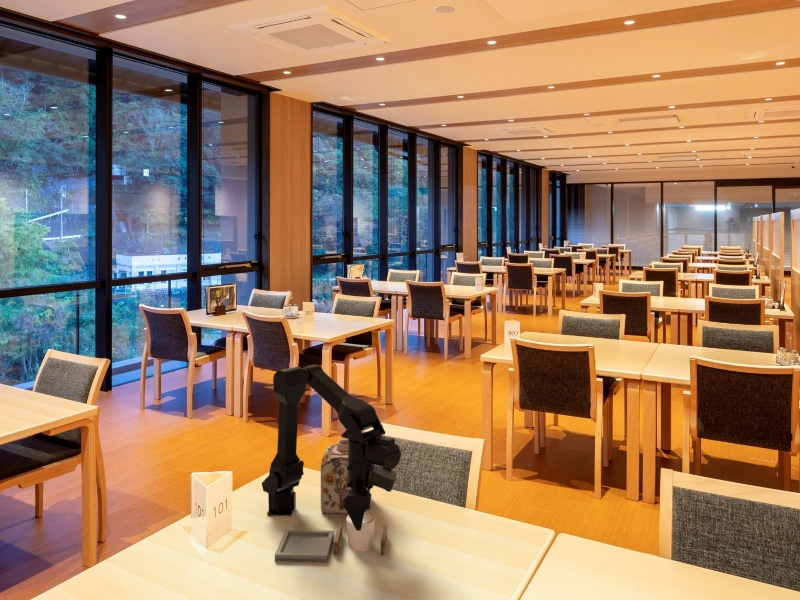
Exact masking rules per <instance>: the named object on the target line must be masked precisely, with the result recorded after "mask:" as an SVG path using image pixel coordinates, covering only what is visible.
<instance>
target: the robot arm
mask: <svg viewBox="0 0 800 600" xmlns="http://www.w3.org/2000/svg"><path fill="white" fill-rule="evenodd" d="M272 378H273V379H272V383H273V393H274V395H275V396H276V398H277V400H278V404H279V405H278V428H277V449H276V455H275V456H274V458H273V460H272V461H271V462H270V465H269V473H268V475H267V477H266V478H265V479H264V480H263V481H262V482H261V487H262V491H263V492H265V493H267V494H268V497H267V498H268V510H267V512H266V515H267V516H292V514H293V513H294V511H295V510H296V508H297V492H296V491H294V490H295V487H298V486H299V485H300V481H301V480H302V478H303V476H304V474H305V473H304V465H305V463H304V461H303V460H301V459H300V457H299V456H298V454H297V444H298V443H297V442H298V424H299V408H300V407H299V405H300V401H301V399H302V397H303V395H305V392H306V387H307V385H308V386H309V387H310V388H311V389H312V390H314V392H316V394H318V395H319V396H320V397H321V398H322V399H323V400H324V401H325V402H326V403H327V404H328V405H329V406H330V407H331V408H332V409H334V410H335V411H336V413H337V417H338V421H339V422H340V424H341V425H342V426H343V427H344V429H345V431H344V432H342V433H341V434H340V435H341V438H343V439H348V465H347V470H348V482H347V487H351V489H352V490H348V491H347V492H346V493H345V494H344V498H343V508H344V509H345V510H346V511H347V513H348V514H347V516H348V515H349V517H350V519H351V521H352V523H353V525H354V527H355V529H356V530H357V531H360V530H361V527H362V522H363V516H364V512H366V511H369V510H370V509H371V506H372V493H371V489H373V488H374V486H375V487H377V488H380V489H381V490H385V491H386V492H389V493H390V492H392V491H393V488H394V486H395V483H396V480H397V473H396V471H395V470H393V469H395V468H396V467H397V466H398V465H399V463H400V460H401V458H402V457H401V455H402V451H401V449H400V447H399V445H398V444H396V439H395V438H393V437H387V436H384V435H385V434H386V431H385V429H384V426H383V424H382V423H381V420H380V419H379V417H378V415H377V411H376V410H375V408H374V406H373V405H371V404H369V403H368V402H366V401H365V400H363V399H360V398H357V397H354V396H352V395H350V394H349V393H348V392H347V391H346V390H344V389H343V388H342V387H341V386H340V385H339V384H338V383H337V382H336V381H335V380H334V379H332V378H331V376H330V375H328V373H326V372H325V371H324V370H323V367H322V366H320V365H319V364H312V365H307V366H304V367H302V366H301V367H300V366H292V367H289V368H283V369H281V370H277V371H276V372H275V373H274V374H273V377H272ZM369 429H370V430H369ZM366 430H368V431H366ZM363 431H365V432H363ZM369 490H370V492H369Z"/></svg>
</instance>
